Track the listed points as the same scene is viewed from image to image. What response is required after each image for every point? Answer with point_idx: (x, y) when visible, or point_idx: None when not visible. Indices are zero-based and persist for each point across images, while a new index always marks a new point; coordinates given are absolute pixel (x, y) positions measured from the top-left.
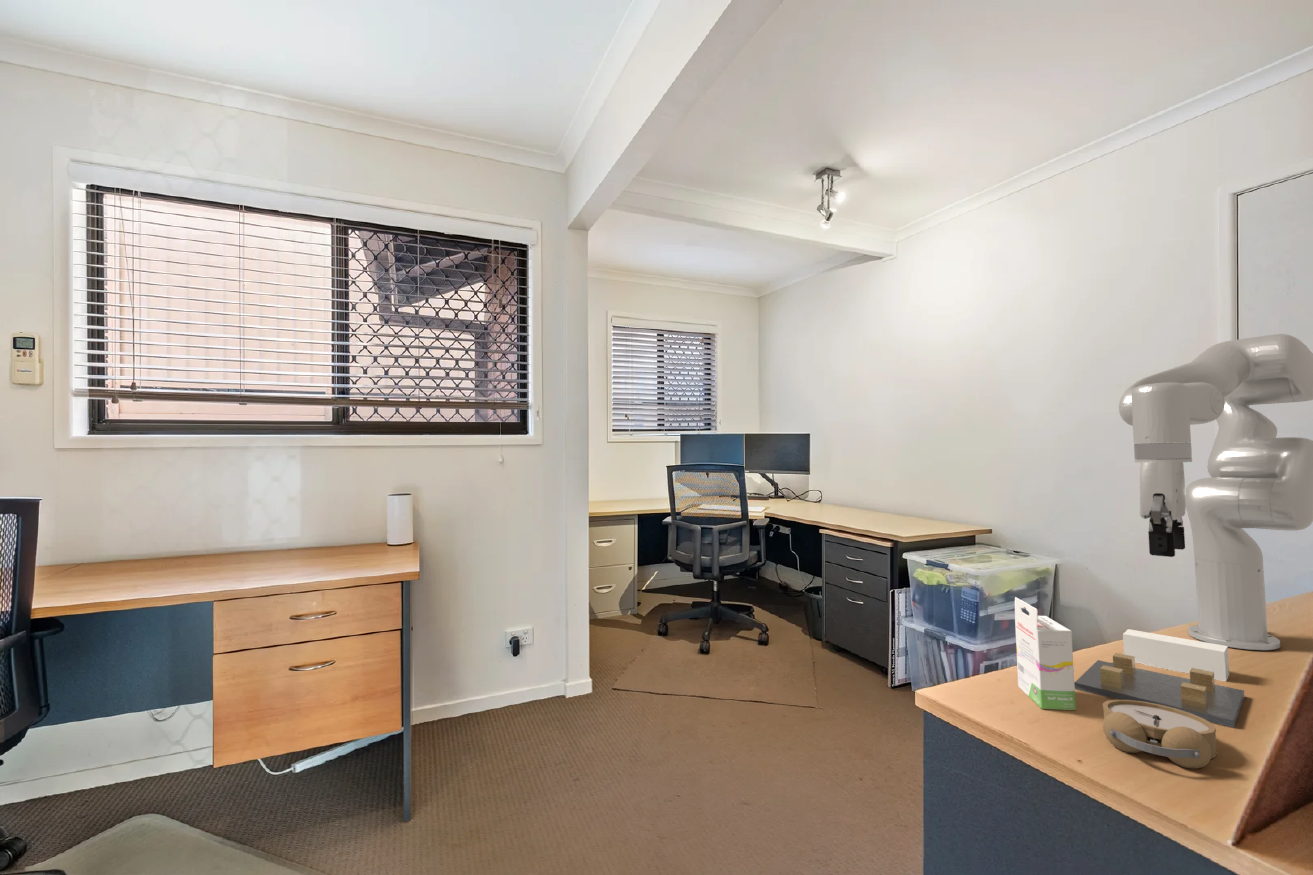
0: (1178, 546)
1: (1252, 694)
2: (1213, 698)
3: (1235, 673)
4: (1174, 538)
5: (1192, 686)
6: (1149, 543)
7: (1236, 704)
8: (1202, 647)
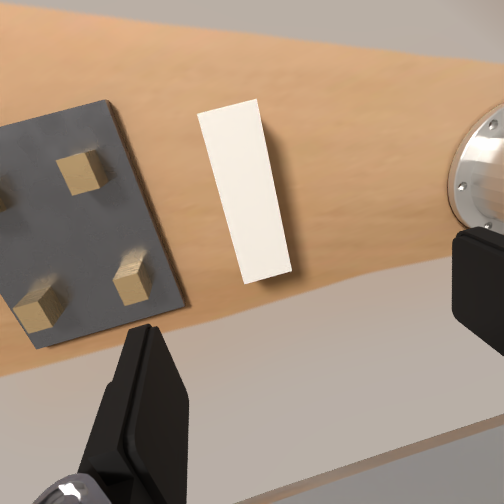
0: (462, 305)
1: (209, 300)
2: (101, 303)
3: (295, 250)
4: (500, 317)
5: (31, 317)
6: (118, 373)
7: (108, 325)
8: (240, 254)
